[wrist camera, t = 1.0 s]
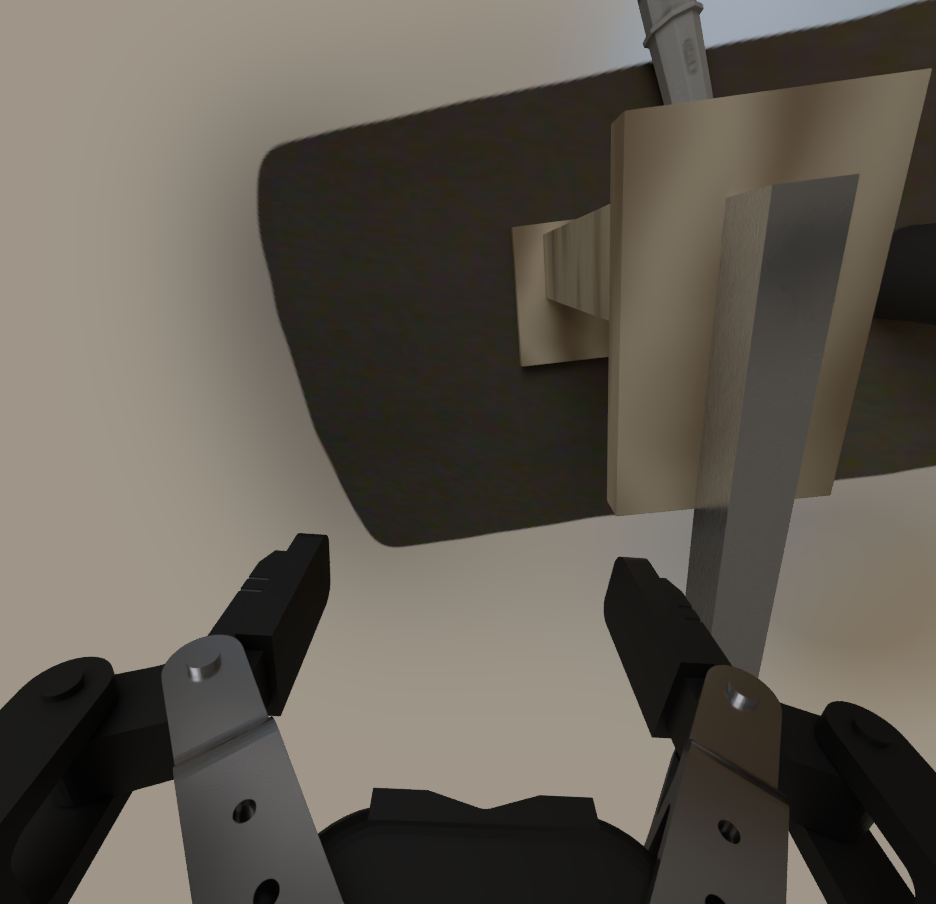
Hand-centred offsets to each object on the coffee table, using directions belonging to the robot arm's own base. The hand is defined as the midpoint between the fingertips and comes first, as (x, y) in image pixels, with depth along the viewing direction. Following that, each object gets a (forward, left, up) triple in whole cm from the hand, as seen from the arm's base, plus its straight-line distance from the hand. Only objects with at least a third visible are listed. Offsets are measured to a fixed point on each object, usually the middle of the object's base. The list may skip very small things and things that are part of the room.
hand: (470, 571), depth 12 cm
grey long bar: (-12, +2, -8) cm, 14 cm away
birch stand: (-12, -4, -40) cm, 42 cm away
